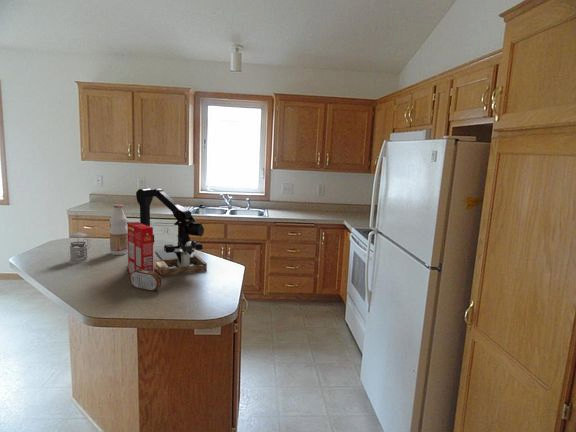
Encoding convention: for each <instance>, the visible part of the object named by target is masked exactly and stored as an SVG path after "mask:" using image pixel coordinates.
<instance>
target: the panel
mask: <svg viewBox="0 0 576 432" xmlns="http://www.w3.org/2000/svg"><path fill="white" fill-rule="evenodd" d="M180 252H181V254H180V256H181V264H180V263H179V260H178V264H177V267H178V268H179V267H188V266H191V263H190V257H191V255H190V254H189V253H188V252H187V251H186V252H183V251H182V249H180Z"/></svg>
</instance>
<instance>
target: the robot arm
mask: <svg viewBox="0 0 576 432" xmlns="http://www.w3.org/2000/svg"><path fill="white" fill-rule="evenodd" d="M154 197H156V198H157V199H158V200H159V201H160V202H161V203H162V204H163V205H164V206H166V207H167V208H168V209H169V210H170V212H171V213H172V214H173V215H172V216H173V217H174V218H175V220H176V221H175V222H174V223H173V225H174V226H177V243H176V244H177V245H173V244H172V243H171V244H165V245H164V247H163V250H164V251H165V252H166V253H170V252H174V253H176V255H177V258H178V260H179V263H180V264H181V256H180V254H181V252H180V249H182V251H183V252H186V251H187V252H188V253H189V254H190V256H191V255H192V254H193V253H194V252H195V250H196V251H200V250H201V251H202V250H203V249H204V248H203V244H202V243H201V242H199V241H198V242H196V240H191V236H195V237H203V236H204V232H205V227H204V226H203V223H202V222H196V220H195V219H194V217H193V215H192V212H191V211H190V209H188V208H186V207H184V206H183V205H181V204H178V203H177V202H176V201H175V200H174V199H173V198H172V197H171V196H169V195H168V194H167V193H166V192H165V190H164V189H162V188H153V189H151V188H149V187H148V188H140V189H138V190H136V192H135V198H136V202H137V203H138V205H139V223H142V224H145V225H147V226H150V227H151V204H152V202H153V200H154V199H153V198H154ZM154 243H155V234H153V245H154ZM194 249H195V250H194Z"/></svg>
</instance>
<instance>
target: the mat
mask: <svg viewBox="0 0 576 432" xmlns="http://www.w3.org/2000/svg"><path fill="white" fill-rule="evenodd" d="M155 254H156V255H157V256H158V257H159V259H160V260H162V259H172V258H177V255H176V253H174V252H170V253H166V252H165V251H164V249H163V250H155Z"/></svg>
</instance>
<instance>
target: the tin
mask: <svg viewBox="0 0 576 432" xmlns="http://www.w3.org/2000/svg"><path fill="white" fill-rule="evenodd" d="M129 275H130V277H129V278H130V283H131V285H132V286H133V287H135V288H137V289H141V290H144V291H145V290H146V291H151V292H154V291H156V290H159V289H160V288H161V286H162V284H163V283H162V278H161V276H160V274H158V273H157V272H156V271H154V270H153V271H148V270H143V269H137V270H135V271H133V272H132V273H131V274H129Z"/></svg>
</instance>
